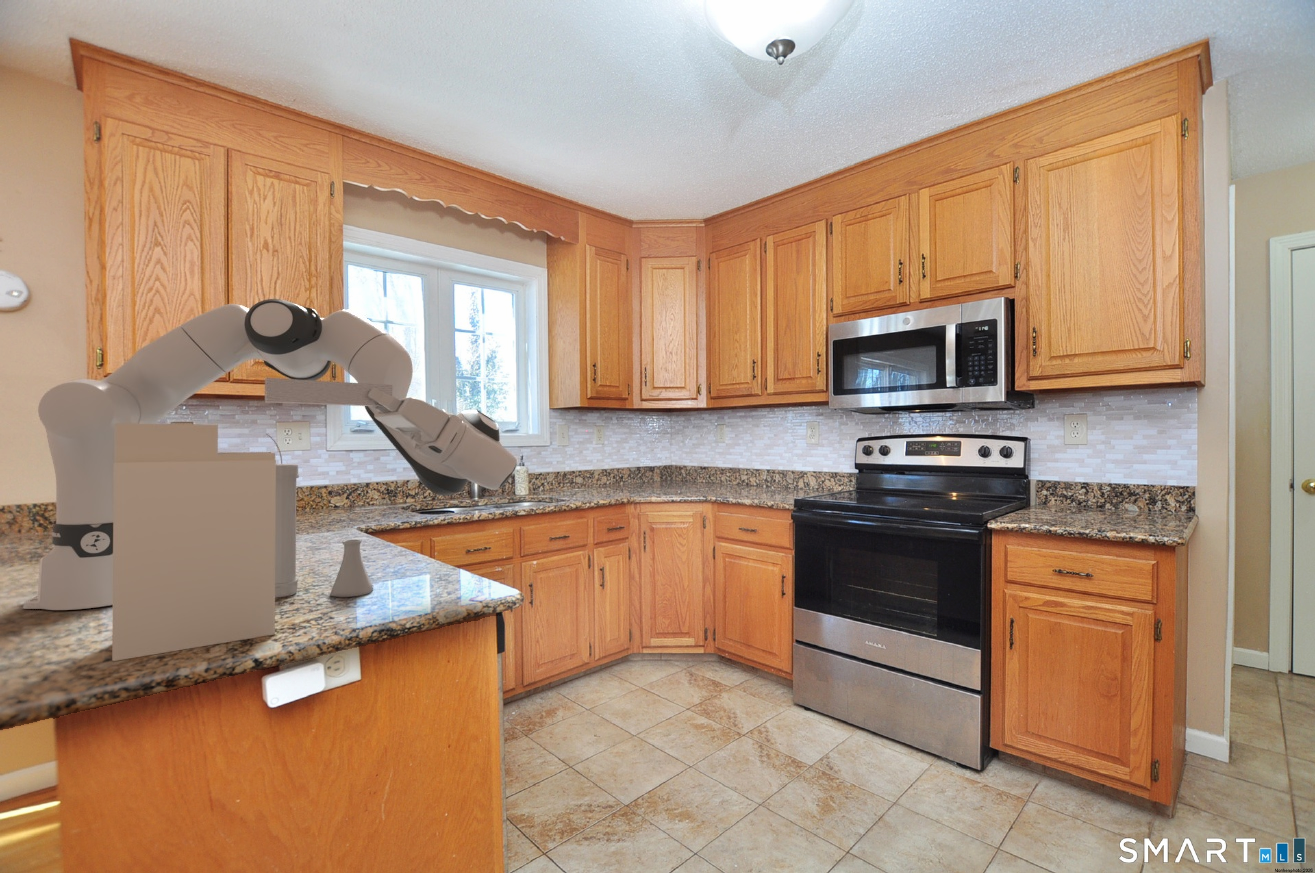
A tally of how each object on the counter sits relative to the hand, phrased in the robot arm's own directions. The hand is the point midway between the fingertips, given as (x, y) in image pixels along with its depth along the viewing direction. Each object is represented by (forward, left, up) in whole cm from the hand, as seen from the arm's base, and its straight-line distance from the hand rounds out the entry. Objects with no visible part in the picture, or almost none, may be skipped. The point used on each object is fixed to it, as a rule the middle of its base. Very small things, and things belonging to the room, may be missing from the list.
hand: (365, 392), depth 102 cm
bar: (0, -5, -2) cm, 6 cm away
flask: (-14, +1, -37) cm, 40 cm away
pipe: (-21, -10, -37) cm, 44 cm away
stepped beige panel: (0, -22, -37) cm, 43 cm away
